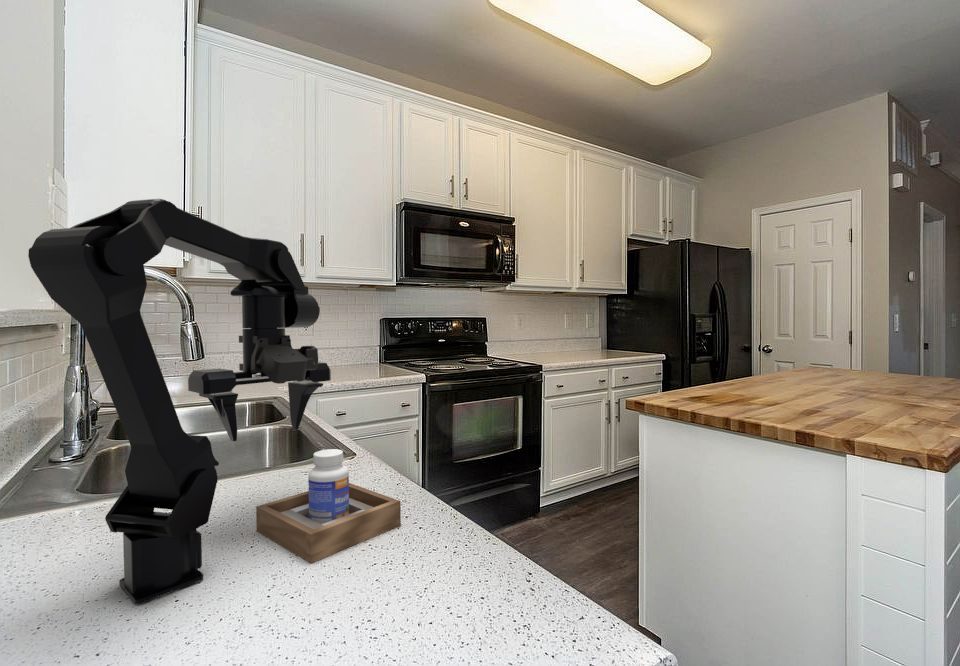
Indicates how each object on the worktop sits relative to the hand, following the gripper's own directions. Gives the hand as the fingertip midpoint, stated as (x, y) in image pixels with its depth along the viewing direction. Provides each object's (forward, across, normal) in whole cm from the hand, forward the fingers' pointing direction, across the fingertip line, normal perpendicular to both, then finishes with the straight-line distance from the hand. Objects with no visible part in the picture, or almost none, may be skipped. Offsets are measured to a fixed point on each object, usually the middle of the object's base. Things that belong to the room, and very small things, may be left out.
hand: (266, 434), depth 71 cm
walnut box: (+12, +4, -10) cm, 16 cm away
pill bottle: (+12, +4, -10) cm, 16 cm away
